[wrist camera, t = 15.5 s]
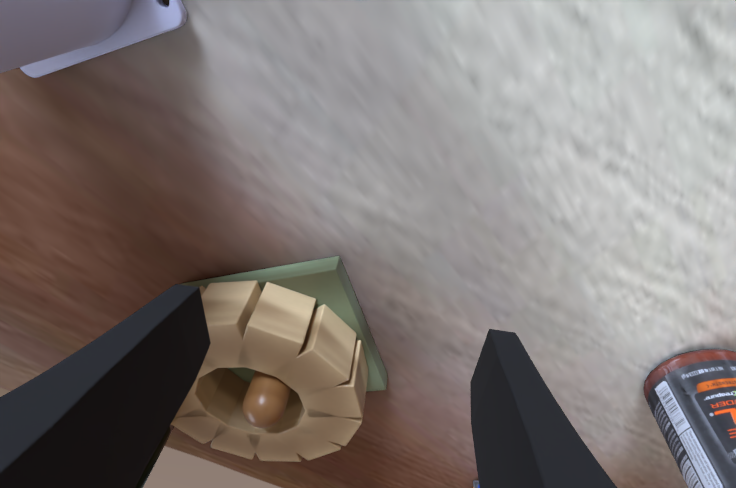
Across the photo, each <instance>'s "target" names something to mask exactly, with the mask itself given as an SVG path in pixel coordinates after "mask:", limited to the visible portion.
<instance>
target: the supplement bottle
mask: <svg viewBox="0 0 736 488" xmlns="http://www.w3.org/2000/svg"><path fill="white" fill-rule="evenodd" d="M644 395H645V398H646V400H647V402H648V405H649V407H650V409H651V411H652V413H653V416H654V417H655V419H656V422H657V424H658V426H659V428H660V430H661V432H662V434H663V436H664V438H665V440H666V443H667V445H668V447H669V449H670V451H671V453H672V455H673V457H674V459H675V461H676V463H677V465H678V467H679V469H680V472H681V474H682V476H683V477H684V480H685V482H686V484H687V486H688V488H736V352H733V351H728V350H718V349H707V350H698V351H692V352H688V353H684V354H680V355H678V356H675V357H673V358H670V359H668V360H667V361H665V362H663V363H661V364H660V365H659V366H658V367H656V368H655V369H654V370H653V371H652V372H651V373H650V374H649V375H648V377H647V379H646V380H645V384H644Z"/></svg>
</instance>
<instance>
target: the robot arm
mask: <svg viewBox="0 0 736 488" xmlns="http://www.w3.org/2000/svg"><path fill="white" fill-rule="evenodd" d="M169 1H170V2H169V6H167V5H165V4H164V3H163V2H162V0H0V73H2V72H5V71H9V70H12V69H15V68H19V67H20V69H21V70H22V71H23V72H24V73H25V74H27V75H28V76H30V77H33V78H37V77H41V76H44V75H46V74H49V73H52V72H55V71H58V70H61V69H63V68H66V67H69V66H72V65H75V64H78V63H80V62H83V61H86V60H89V59H92V58H95V57H97V56H100V55H103V54H106V53H109V52H112V51H114V50H117V49H120V48H123V47H126V46H129V45H131V44H134V43H137V42H140V41H143V40H146V39H148V38H151V37H154V36H157V35H160V34H163V33H165V32H168V31H171V30H174V29H177V28H180V27H182V26H183V25H185V23H186V21H187V13H186V10H185V8H184V5H183V3H182V1H181V0H169ZM210 344H211V342H210V337H209V332H208V327H207V322H206V317H205V312H204V308H203V303H202V298H201V293H200V288H199V287H193V286H187V285H180V284H175V285H174V286H172V287H171V288H169V289H168V290H166V291H165V292H163V293H162V294H161V295H159V296H158V297H156V298H155V299H153V300H152V301H151V302H149V303H148V304H146V305H145V306H143V307H142V308H141V309H139V310H138V311H136V312H135V313H134V314H132V315H131V316H129V317H128V318H126V319H125V320H123V321H122V322H121V323H119V324H118V325H116V326H115V327H113V328H112V329H110V330H109V331H107V332H106V333H105V334H103V335H102V336H100V337H99V338H97V339H96V340H94V341H93V342H91V343H90V344H88V345H86V346H85V347H83V348H82V349H80V350H79V351H77V352H75V353H74V354H72V355H71V356H69V357H68V358H66V359H64V360H63V361H61V362H60V363H58V364H57V365H55V366H53V367H52V368H50V369H49V370H47V371H45V372H44V373H42V374H40V375H39V376H37V377H35V378H34V379H32V380H30V381H28V382H27V383H25V384H23V385H21V386H20V387H18V388H16V389H14V390H13V391H11V392H9V393H7V394H5V395H3V396H2V397H0V488H135V487H136V485H137V483H138V481H139V480H140V478H141V476H142V474H143V472H144V470H145V468H146V466H147V464H148V463H149V461H150V459H151V457H152V456H153V454H154V452H155V450H156V449H157V447H158V445H159V443H160V442H161V440H162V438H163V437H164V435H165V433H166V431H167V430H168V428H169V426H170V424H171V423H172V421H173V419H174V417H175V416H176V414H177V412H178V410H179V409H180V407H181V405H182V403H183V402H184V400H185V398H186V396H187V395H188V393H189V391H190V389H191V387H192V386H193V384H194V382H195V380H196V378H197V375H198V373H199V371H200V369H201V366H202V364H203V361H204V359H205V356H206V354H207V351H208V349H209V346H210ZM471 425H472V433H473V441H474V448H475V456H476V464H477V471H478V478H479V486H480V488H617V487H616V486H615V484H614V483H613V482H612V480H611V479H610V478H609V476H608V475H607V474H606V472H605V471H604V470H603V468H602V467H601V466H600V464H599V463H598V462H597V460H596V459H595V457H594V456H593V455H592V453H591V452H590V450H589V449H588V448H587V446H586V445H585V443H584V442H583V441H582V439H581V438H580V436H579V435H578V433H577V432H576V430H575V429H574V428H573V426H572V425H571V423H570V422H569V420H568V418H567V417H566V415H565V414H564V412H563V411H562V409H561V408H560V406H559V405H558V403H557V402H556V400H555V398H554V397H553V395H552V394H551V392H550V390H549V389H548V387H547V386H546V384H545V382H544V381H543V379H542V377H541V376H540V374H539V372H538V371H537V369H536V367H535V366H534V364H533V362H532V360H531V359H530V357H529V355H528V353H527V352H526V350H525V348H524V346H523V345H522V343H521V341H520V339H519V338H518V336H517V335H516V334H515V333H513V332H506V331H499V330H492V329H489V331H488V334H487V337H486V340H485V343H484V345H483V348H482V351H481V354H480V357H479V360H478V363H477V366H476V368H475V371H474V374H473V377H472V380H471Z"/></svg>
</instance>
